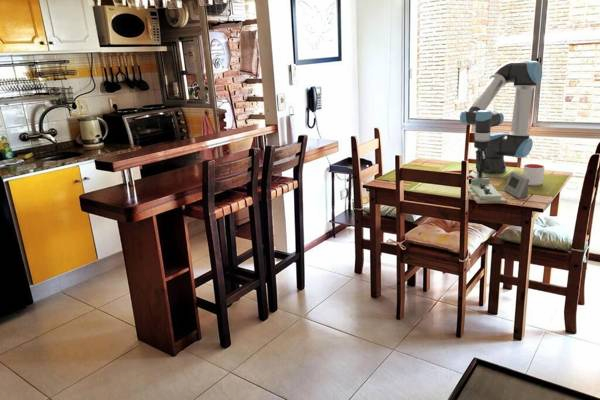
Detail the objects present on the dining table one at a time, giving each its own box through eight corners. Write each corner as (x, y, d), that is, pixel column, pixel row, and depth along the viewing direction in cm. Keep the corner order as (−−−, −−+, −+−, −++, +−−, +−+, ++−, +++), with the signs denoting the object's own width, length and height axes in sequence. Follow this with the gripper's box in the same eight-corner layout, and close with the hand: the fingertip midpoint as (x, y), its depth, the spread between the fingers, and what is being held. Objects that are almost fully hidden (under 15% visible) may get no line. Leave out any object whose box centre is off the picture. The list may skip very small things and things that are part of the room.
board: (464, 186, 253) (464, 179, 251) (490, 186, 251) (491, 179, 250) (477, 203, 225) (477, 195, 224) (506, 203, 223) (507, 194, 222)
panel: (470, 186, 248) (470, 178, 246) (489, 186, 246) (489, 178, 245) (480, 198, 227) (480, 190, 226) (501, 198, 226) (502, 190, 224)
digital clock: (502, 190, 244) (504, 170, 240) (520, 189, 242) (522, 170, 239) (511, 199, 228) (513, 179, 225) (530, 199, 227) (532, 178, 224)
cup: (544, 186, 245) (546, 168, 242) (524, 186, 247) (526, 168, 244) (539, 181, 255) (541, 163, 252) (520, 181, 257) (521, 164, 254)
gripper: (471, 138, 247) (469, 179, 254) (477, 142, 234) (474, 186, 242) (486, 137, 246) (483, 179, 253) (492, 142, 233) (489, 186, 241)
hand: (479, 182), depth 247 cm, fingers closed
